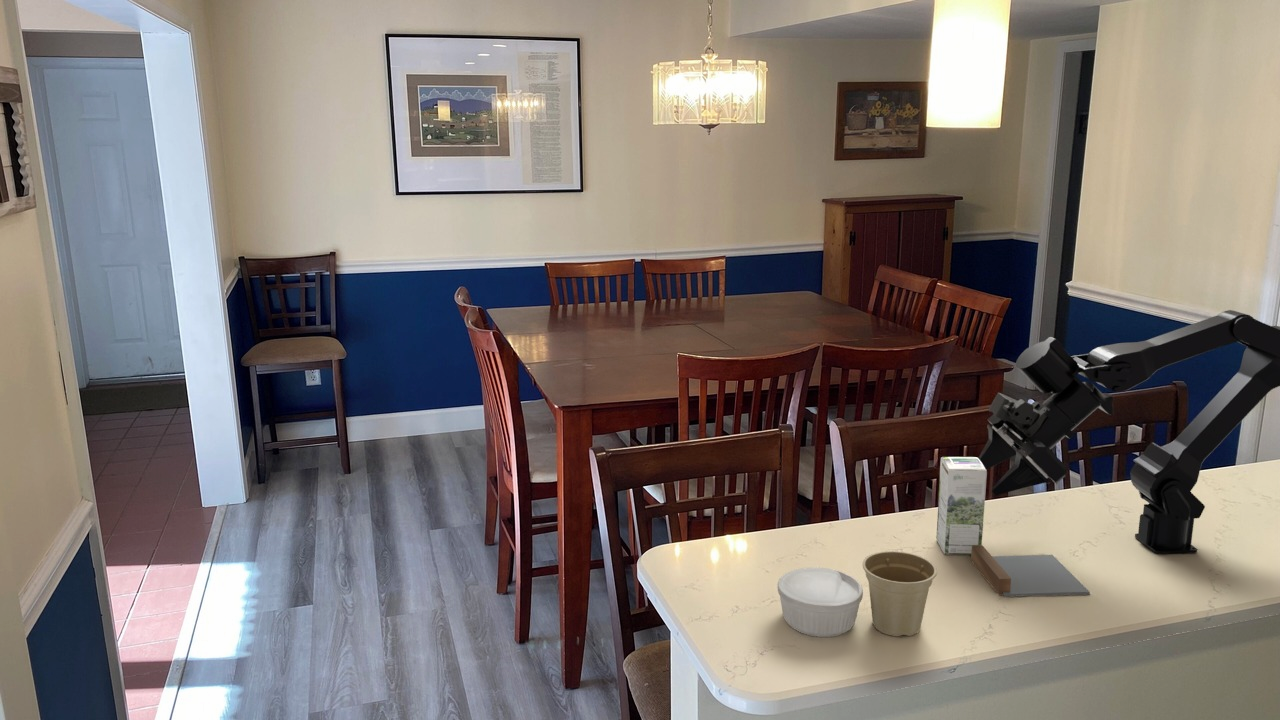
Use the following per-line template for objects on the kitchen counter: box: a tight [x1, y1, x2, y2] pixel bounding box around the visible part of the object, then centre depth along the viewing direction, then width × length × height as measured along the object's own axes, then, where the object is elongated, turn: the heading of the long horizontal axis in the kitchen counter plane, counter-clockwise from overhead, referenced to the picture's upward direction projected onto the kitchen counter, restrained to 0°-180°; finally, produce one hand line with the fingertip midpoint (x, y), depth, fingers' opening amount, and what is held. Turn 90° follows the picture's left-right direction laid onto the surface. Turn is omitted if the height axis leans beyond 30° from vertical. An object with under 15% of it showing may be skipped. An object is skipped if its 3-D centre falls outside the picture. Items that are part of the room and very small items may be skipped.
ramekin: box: [777, 567, 864, 638], centre depth 123 cm, size 11×11×5 cm
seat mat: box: [991, 554, 1091, 598], centre depth 134 cm, size 12×12×1 cm
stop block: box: [970, 544, 1011, 596], centre depth 134 cm, size 2×11×2 cm, turn 0°
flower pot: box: [862, 550, 938, 637], centre depth 121 cm, size 9×9×9 cm
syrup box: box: [935, 456, 988, 556], centre depth 142 cm, size 6×6×14 cm
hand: (983, 482), depth 141 cm, fingers open, 9 cm apart
